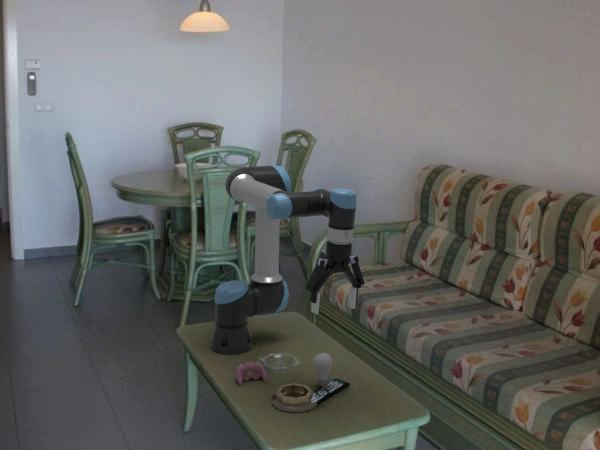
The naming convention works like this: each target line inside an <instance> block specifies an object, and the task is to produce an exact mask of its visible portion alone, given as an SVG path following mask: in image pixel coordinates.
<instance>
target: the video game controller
mask: <svg viewBox="0 0 600 450" xmlns="http://www.w3.org/2000/svg"><path fill="white" fill-rule="evenodd" d="M234 370H235V371H234V372H235V377H236V381H237V383H238V385H239V386H242V385H243V382H244V381H245V382H246V381H248V380H250V374H249V373H248V372H252V373H251V379H253V380H258V379H259V378H260V376H261V378H262V380H263V381H264V383H266V382H267V381H268V375H267V371H266V368H265V366H264V365H263V364H262V363H261V362H257V361H248V362H247V361H246V362H244V363H241V364H238V365H237V366H236V367H235V369H234Z"/></svg>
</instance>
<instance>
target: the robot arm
mask: <svg viewBox="0 0 600 450" xmlns="http://www.w3.org/2000/svg"><path fill="white" fill-rule="evenodd" d="M224 185H225V187H224V188H225V191H226V193H227V195H228V196H229V197H230V198H231V199H232V200H233V201H236V202H239V203H249V204H251V205H252V206H253V207H254V208H255V234H254V235H255V236H254V237H255V240H254V245H255V246H254V273H253V274H252V275H251V276H250V283H248V282H247V281H245V280H241V279H238V280H235V279H233V280H229V281H224V282H222V283H220V284H219V285H218V286H217V287H216V288H215V295H214V307H215V308H214V310H215V311H214V313H215V315H214V320H215V321H214V324H215V325H214V329H213V332H212V334H211V337H210V341H209V342H210V345H209V346H210V349H211V350H212V351H214V352H216V353H219V354H222V355H223V354H225V355H235V354H236V355H237V354H242V353H247V352H248V351H250V350H251V349H252V348H253V338H252V333H251V332H250V328H249V324H248V323H249V319H248V318H249V317H250V318H251V317H255V316H261V315H268V314H269V315H271V314H275V313H278V312H282V311H283V310H284V309H285V308H286V307H287V305H288V303H289V297H290V296H289V295H290V294H289V293H290V292H289V289H288V288H289V287H288V284H287V282H286V281H285V280H283V277H284V276H282V275H281V274H280V273H279V272H280V270H279V268H280V266H279V265H280V225H281V224H280V223H281V222H280V220H286V219H287V220H288V219H295V218H298V219H299V218H306V217H307V218H309V217H320V216H321V217H322V216H323V217H325V218H326V217H327V218H328V223H327V227H328V228H327V234H326V240H328V241H326V245H325V247H326V248H325V252H326V253H325V254H326V256H325V257H326V258H325V259H324V258H320V257H318V258H317V259H316V263H315V267H314V268H313V271H312V272H311V274H310V276H309V279H308V280H307V283H306V284H305V287H304V289H305V290H307V291H308V292H310V300H309V301H310V303H311V310H310V311H311V313H313V314H314V315H319V311H320V310H319V309H320V300H321V292H320V290H321V289H322V287H323V286H324V284H325V283H326V282H327V280H328V279H329V277H331V276H333V274H337V273H344V275H345V277H346V278H347V280H348V281H349V283H350V284H351V285H349V287H348V289H349V290H348V299H347V307H348V308H350V309H352V310H355V309H356V301H357V298H358V294H359V289H362V286H364V285H365V280H364V276H363V274H362V270H361V267H360V264H359V261H360V260H359V257H358V256H357V255H354V254H352V249H353V243H352V242H353V240H354V239H353V238H354V230H355V228H354V227H355V221H356V220H355V218H356V211H357V205H358V204H357V192H356V191H355V190H352V189H348V188H334V189H332V190H331V191H330V190H327V189H325V188H319V187H317V188H313V189H312V190H310V191H301V192H292V182H291V177H290V175H289V174H288V172H287V170H286V169H285V168H284V167H283V166H281V165H260V166H258V165H255V166H243V167H239V168H236V169H234V170H232V172H230V173H229V175H228V176H227V177H226V181H225V184H224ZM349 264H350V266H351V268H352V269H351V268H350V267H349Z"/></svg>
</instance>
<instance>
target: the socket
mask: <svg viewBox="0 0 600 450" xmlns="http://www.w3.org/2000/svg"><path fill="white" fill-rule="evenodd" d="M312 396H313V390H312V389H311V388H310V387H309V386H308V385H306V384H299V383H287V384H283V385H280V387H279V388H278V389H277V390H276V392H274V393H273V394H272V395H271V397H270V400H271V402H270V404H271V405H272V407H273V408H275V409H276V410H278V411H279V412H280V411H281V412H284V413H289V414H302V413H303V414H304V413H307V412H309V411H312V410H314V409H315V408H317V406H318V404H317V402H314V403H310V401H311V399H312ZM316 405H317V406H316Z"/></svg>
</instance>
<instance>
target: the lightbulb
mask: <svg viewBox="0 0 600 450" xmlns="http://www.w3.org/2000/svg"><path fill="white" fill-rule="evenodd" d="M312 362H313V367H314V369H315V371H316V375H317V381H318V385H319V386H321V387H325V386H327V381H328V376H329V373H330V371H331V370H332V367H333V365H334V364H333V363H334V361H333V358H332V356H331V355H330V354H329V353H326V352H320V353H318V354H316V355H315V357H314V358H313V361H312Z"/></svg>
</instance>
